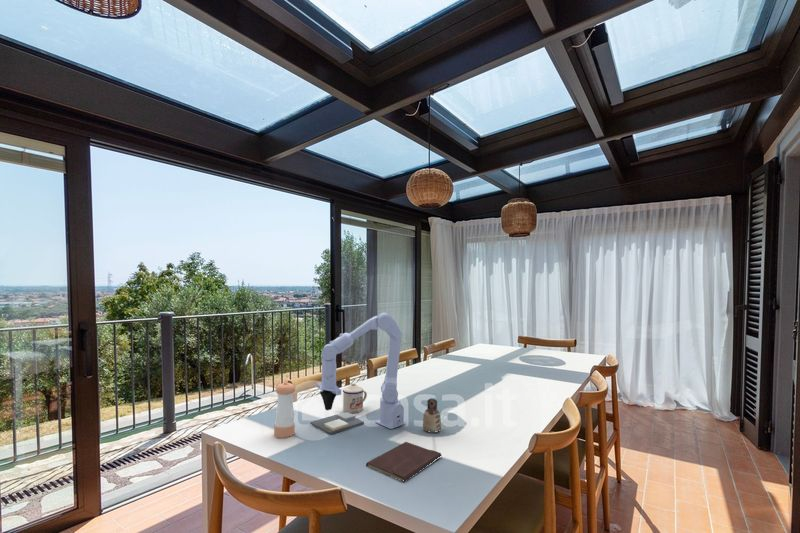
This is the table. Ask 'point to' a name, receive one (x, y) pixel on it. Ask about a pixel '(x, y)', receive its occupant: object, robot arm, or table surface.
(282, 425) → the pepper shaker
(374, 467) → the notebook
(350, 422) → the mat
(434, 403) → the figurine
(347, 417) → the slate tile
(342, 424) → the tile
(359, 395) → the teacup with lid
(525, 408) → the table surface
